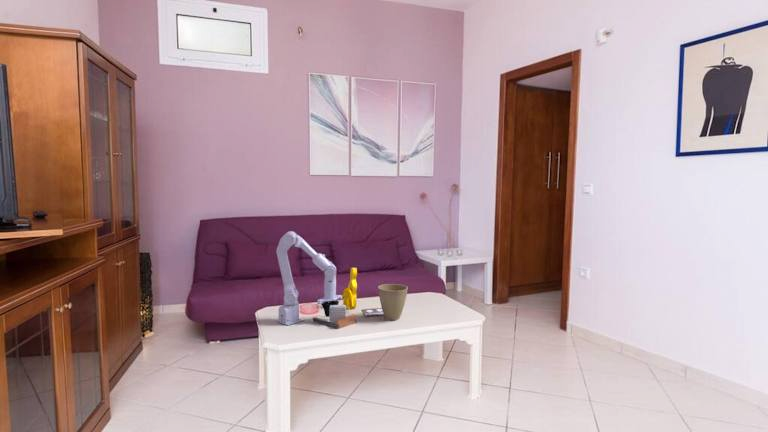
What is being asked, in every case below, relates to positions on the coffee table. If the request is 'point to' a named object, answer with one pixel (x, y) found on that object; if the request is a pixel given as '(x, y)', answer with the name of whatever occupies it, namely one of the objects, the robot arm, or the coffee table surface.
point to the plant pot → (392, 300)
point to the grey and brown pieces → (338, 321)
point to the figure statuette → (350, 291)
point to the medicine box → (337, 312)
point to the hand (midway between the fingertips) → (329, 315)
